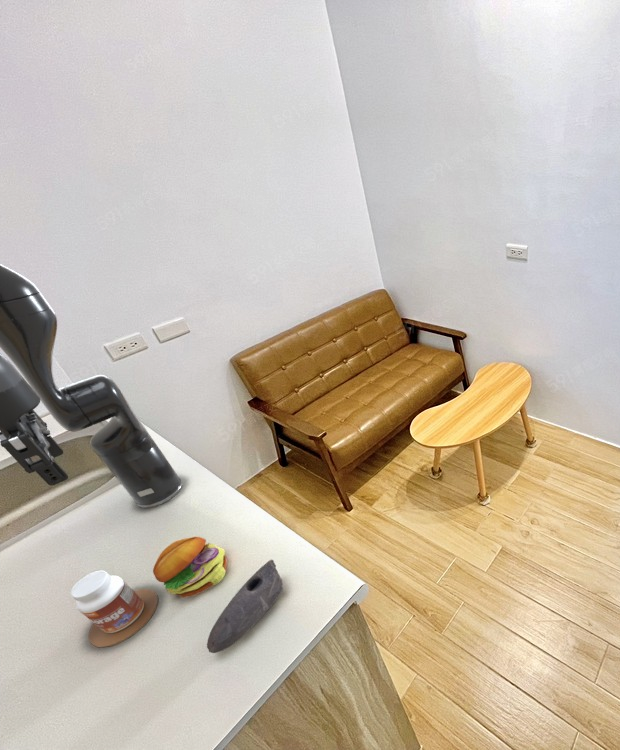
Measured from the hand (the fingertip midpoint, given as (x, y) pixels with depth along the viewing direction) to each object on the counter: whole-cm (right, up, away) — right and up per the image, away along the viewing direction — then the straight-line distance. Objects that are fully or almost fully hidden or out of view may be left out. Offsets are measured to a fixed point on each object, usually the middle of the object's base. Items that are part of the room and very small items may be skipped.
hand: (57, 468), depth 63 cm
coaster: (+2, -30, +9) cm, 31 cm away
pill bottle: (+2, -30, +9) cm, 31 cm away
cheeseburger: (+11, -26, +15) cm, 32 cm away
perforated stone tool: (+27, -30, +9) cm, 41 cm away
